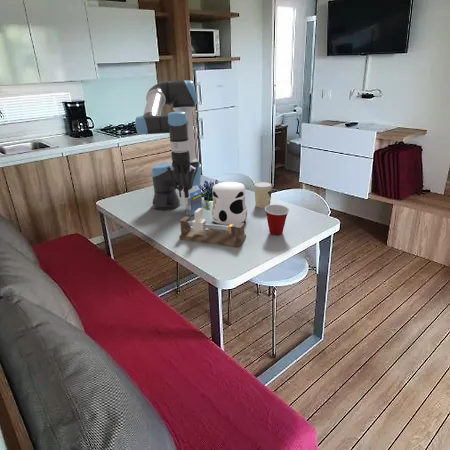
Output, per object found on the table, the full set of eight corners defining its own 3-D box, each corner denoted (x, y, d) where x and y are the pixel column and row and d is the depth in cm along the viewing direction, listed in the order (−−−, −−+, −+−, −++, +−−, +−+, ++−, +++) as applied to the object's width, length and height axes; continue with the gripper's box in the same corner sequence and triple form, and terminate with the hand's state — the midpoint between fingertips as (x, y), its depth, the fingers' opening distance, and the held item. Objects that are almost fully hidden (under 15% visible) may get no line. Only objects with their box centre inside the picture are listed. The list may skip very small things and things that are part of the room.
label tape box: (196, 209, 196) (195, 187, 191) (202, 210, 193) (201, 188, 188) (186, 214, 189) (184, 192, 184) (192, 216, 187) (190, 193, 182)
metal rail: (183, 228, 163) (183, 220, 162) (187, 225, 166) (186, 217, 165) (238, 234, 154) (238, 227, 153) (241, 231, 157) (241, 223, 156)
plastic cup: (282, 240, 157) (283, 214, 153) (260, 235, 163) (260, 210, 158) (292, 230, 166) (293, 206, 161) (270, 226, 171) (271, 202, 166)
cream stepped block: (192, 230, 161) (190, 211, 157) (196, 225, 165) (195, 207, 162) (202, 231, 159) (201, 212, 156) (207, 227, 164) (205, 208, 160)
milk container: (207, 218, 183) (205, 184, 176) (238, 212, 189) (237, 179, 182) (220, 231, 168) (218, 194, 161) (253, 224, 174) (253, 188, 167)
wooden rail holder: (179, 239, 162) (177, 222, 159) (188, 230, 171) (187, 214, 168) (239, 247, 153) (238, 230, 150) (246, 237, 161) (246, 220, 158)
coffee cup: (272, 208, 192) (272, 186, 187) (254, 209, 192) (254, 187, 188) (270, 202, 201) (270, 181, 196) (253, 202, 201) (253, 182, 196)
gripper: (161, 152, 149) (167, 206, 159) (190, 153, 145) (194, 208, 154) (170, 148, 156) (175, 200, 165) (198, 149, 151) (201, 202, 161)
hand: (184, 204), depth 160 cm, fingers closed
